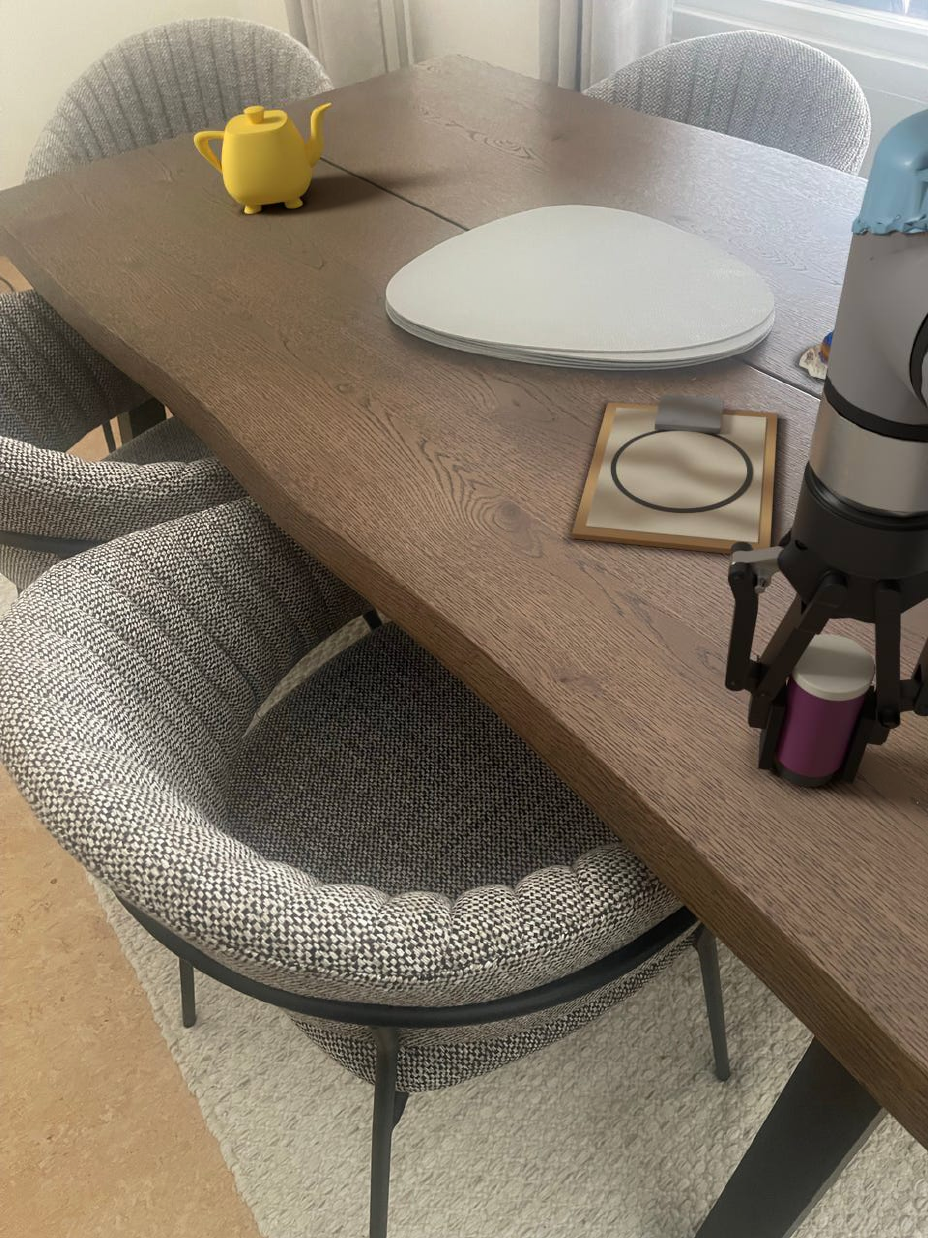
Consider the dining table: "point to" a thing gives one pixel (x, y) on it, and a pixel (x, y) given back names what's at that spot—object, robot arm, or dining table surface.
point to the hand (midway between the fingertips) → (805, 758)
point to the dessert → (818, 358)
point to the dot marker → (822, 709)
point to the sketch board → (681, 476)
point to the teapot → (265, 157)
